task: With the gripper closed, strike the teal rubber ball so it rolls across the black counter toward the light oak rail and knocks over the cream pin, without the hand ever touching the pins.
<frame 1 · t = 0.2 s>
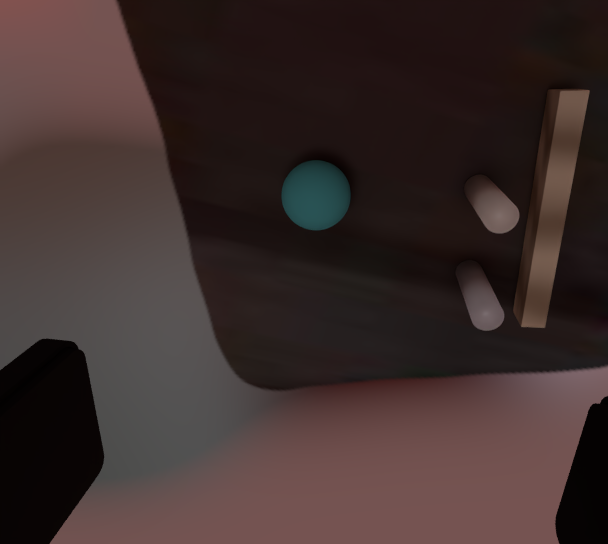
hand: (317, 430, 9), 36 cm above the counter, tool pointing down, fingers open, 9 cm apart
ball: (316, 195, 41), on the counter
grey pin: (468, 271, 45), on the counter
cream pin: (478, 188, 42), on the counter
oak rail: (540, 210, 42), on the counter
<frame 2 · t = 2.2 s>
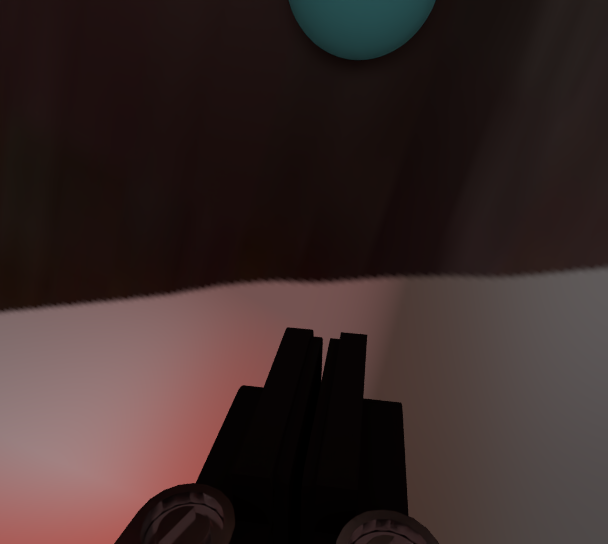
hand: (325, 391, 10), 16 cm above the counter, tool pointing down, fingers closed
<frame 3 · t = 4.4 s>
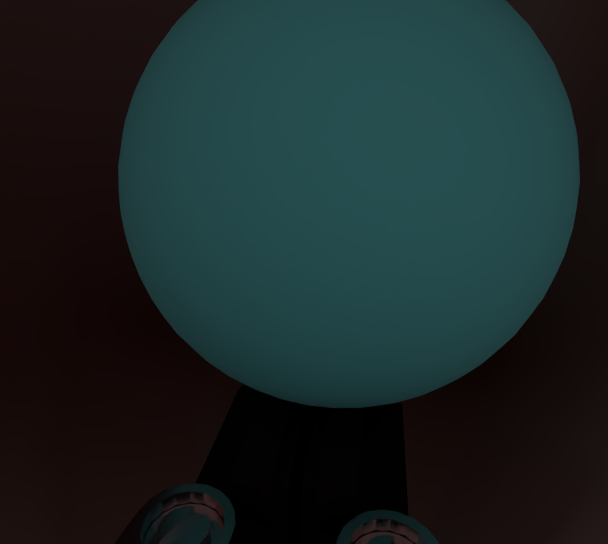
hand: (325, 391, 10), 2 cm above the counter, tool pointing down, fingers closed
ball: (340, 193, 7), on the counter
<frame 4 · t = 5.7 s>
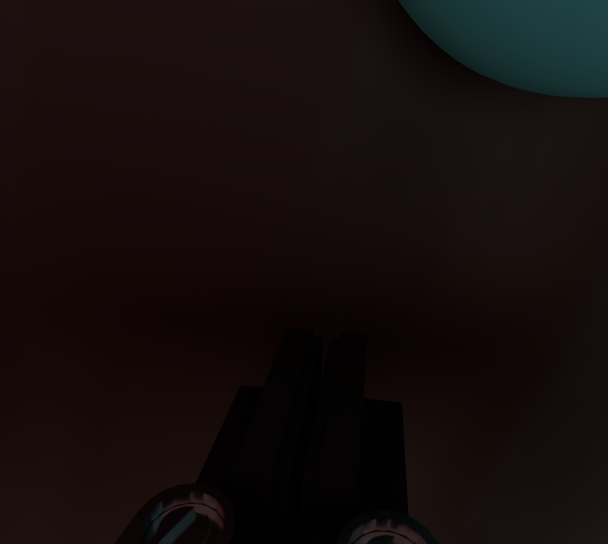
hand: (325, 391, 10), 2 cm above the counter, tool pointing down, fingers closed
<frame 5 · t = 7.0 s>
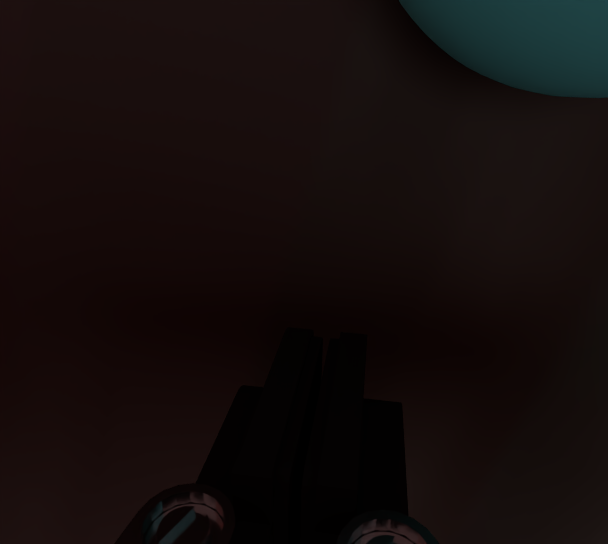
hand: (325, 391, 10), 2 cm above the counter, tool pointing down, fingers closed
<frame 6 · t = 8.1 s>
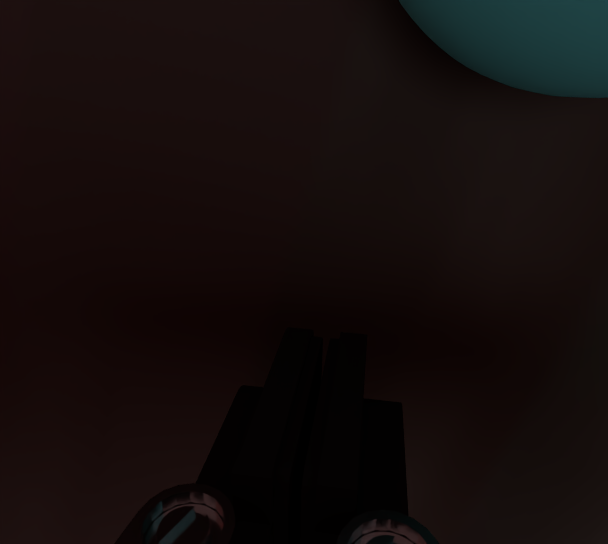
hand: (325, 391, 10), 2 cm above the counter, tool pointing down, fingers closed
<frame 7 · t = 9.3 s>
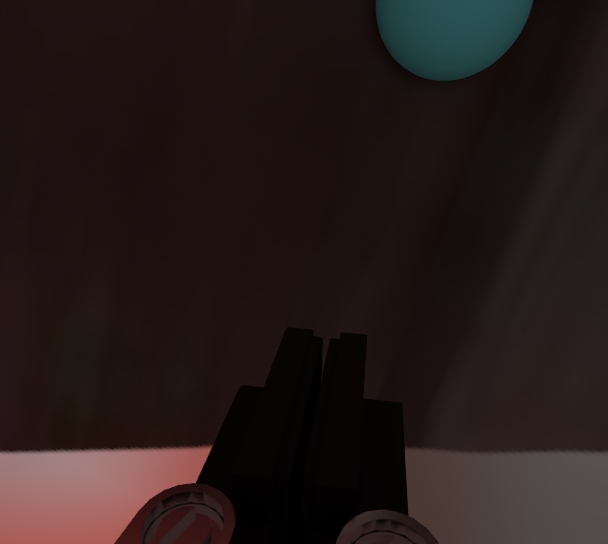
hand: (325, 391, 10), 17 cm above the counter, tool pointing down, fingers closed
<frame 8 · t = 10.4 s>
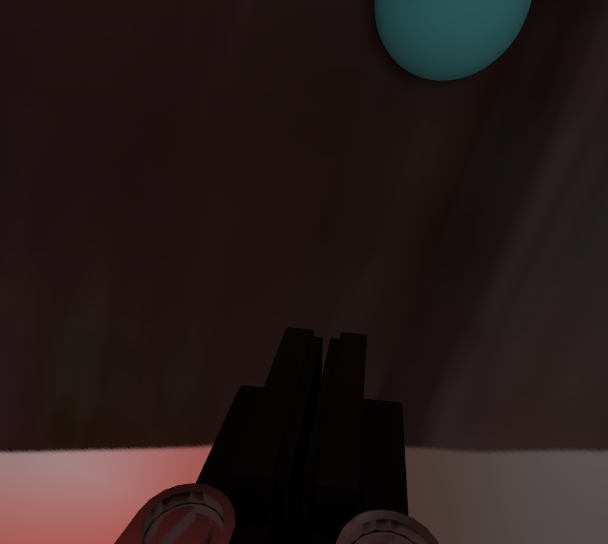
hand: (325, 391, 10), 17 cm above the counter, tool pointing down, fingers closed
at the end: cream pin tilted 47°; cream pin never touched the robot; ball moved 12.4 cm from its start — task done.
